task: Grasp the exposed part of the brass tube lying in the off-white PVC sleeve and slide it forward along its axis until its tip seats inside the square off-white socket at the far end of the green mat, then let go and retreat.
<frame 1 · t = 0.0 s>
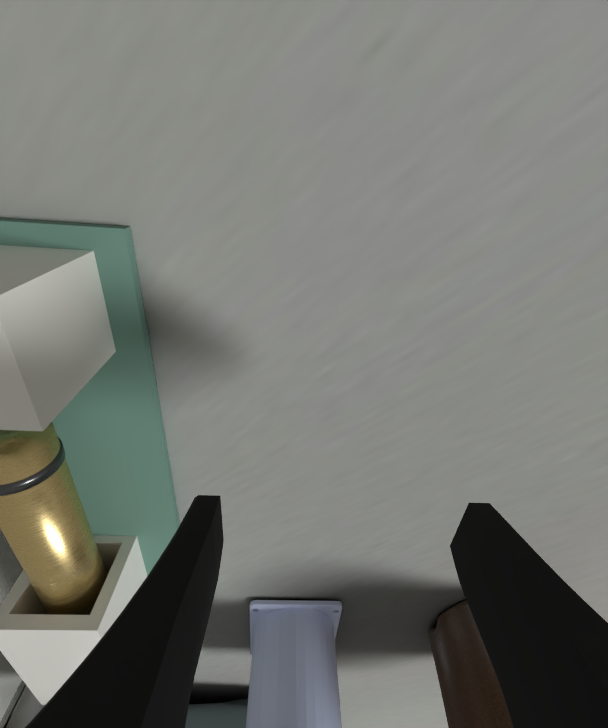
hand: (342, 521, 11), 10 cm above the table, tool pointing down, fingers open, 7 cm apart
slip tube: (66, 565, 23), point 3 cm above the table, slide at 0.0 cm
socket: (6, 299, 17), resting on mat
pencil case: (220, 714, 45), on the table
plant pot: (492, 620, 34), on the table
grey piece: (72, 656, 36), on the table
mat: (79, 478, 24), on the table
sleeve: (106, 575, 28), resting on mat
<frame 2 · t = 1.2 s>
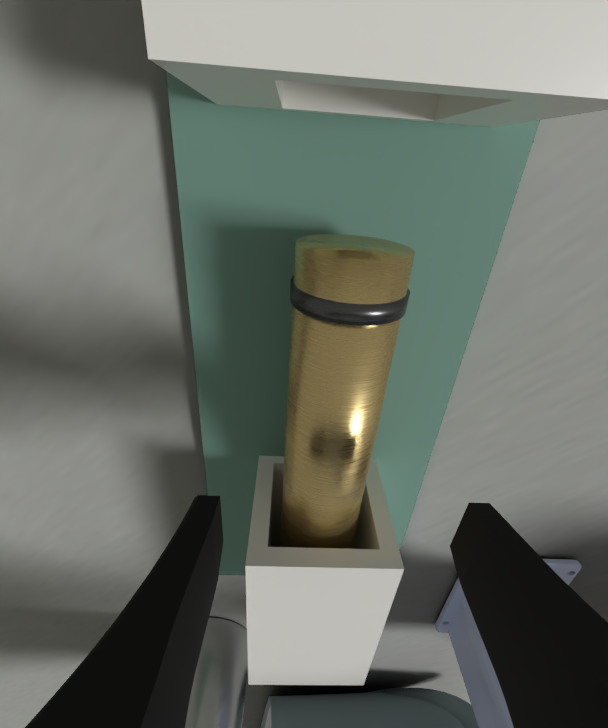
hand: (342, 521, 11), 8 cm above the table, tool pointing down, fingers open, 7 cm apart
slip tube: (322, 486, 16), point 3 cm above the table, slide at 0.0 cm
socket: (369, 11, 10), resting on mat
pencil case: (353, 707, 39), on the table
grey piece: (211, 633, 30), on the table
mat: (326, 370, 17), on the table
sleeve: (310, 518, 22), resting on mat
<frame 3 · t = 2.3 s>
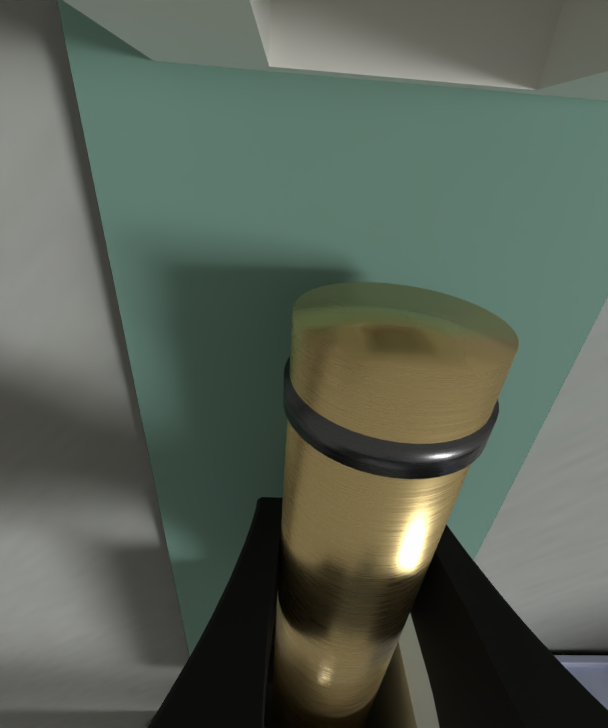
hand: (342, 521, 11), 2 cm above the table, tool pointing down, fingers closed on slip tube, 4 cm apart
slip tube: (333, 627, 11), point 3 cm above the table, slide at 0.0 cm, touching gripper
mat: (336, 455, 12), on the table
sleeve: (314, 623, 17), resting on mat
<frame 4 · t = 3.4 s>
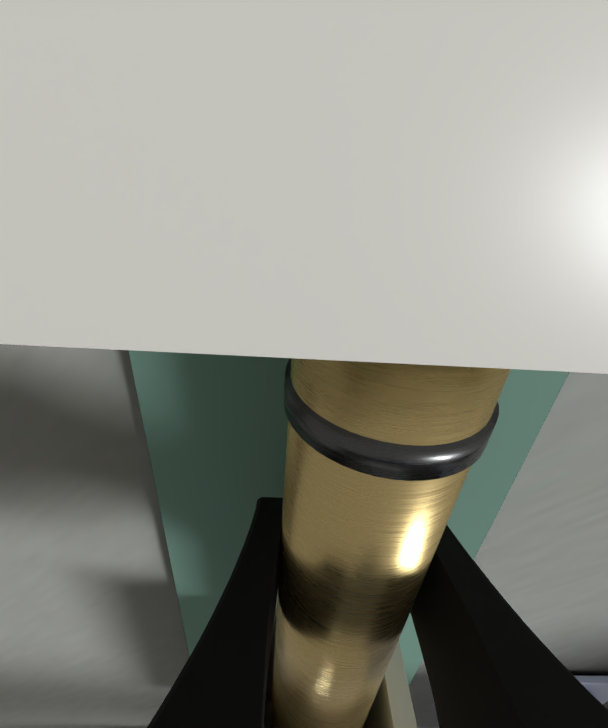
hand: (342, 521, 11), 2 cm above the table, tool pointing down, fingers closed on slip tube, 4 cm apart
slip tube: (333, 628, 11), point 3 cm above the table, slide at 2.6 cm, touching gripper
socket: (400, 88, 7), resting on mat
mat: (329, 505, 14), on the table
sleeve: (309, 649, 18), resting on mat
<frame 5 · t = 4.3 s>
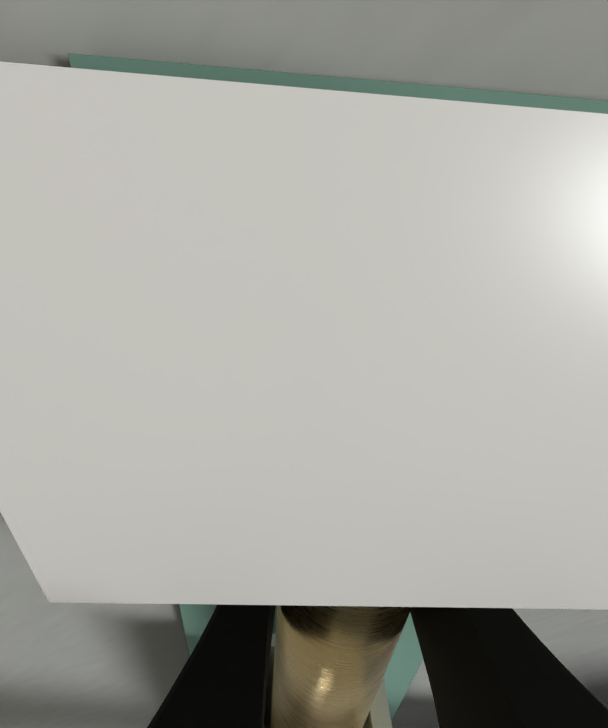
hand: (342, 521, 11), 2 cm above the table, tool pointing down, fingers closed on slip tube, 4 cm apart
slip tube: (333, 628, 11), point 3 cm above the table, slide at 5.9 cm, touching gripper
socket: (370, 269, 8), resting on mat
mat: (320, 559, 15), on the table
sleeve: (305, 678, 20), resting on mat
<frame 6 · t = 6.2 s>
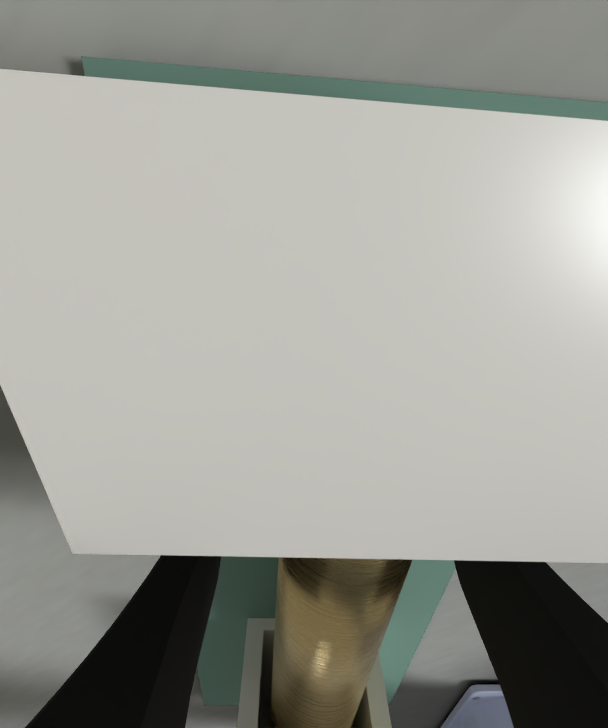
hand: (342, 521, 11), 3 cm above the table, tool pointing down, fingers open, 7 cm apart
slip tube: (330, 606, 12), point 3 cm above the table, slide at 5.9 cm
socket: (364, 260, 9), resting on mat
mat: (319, 545, 16), on the table
sleeve: (304, 663, 20), resting on mat
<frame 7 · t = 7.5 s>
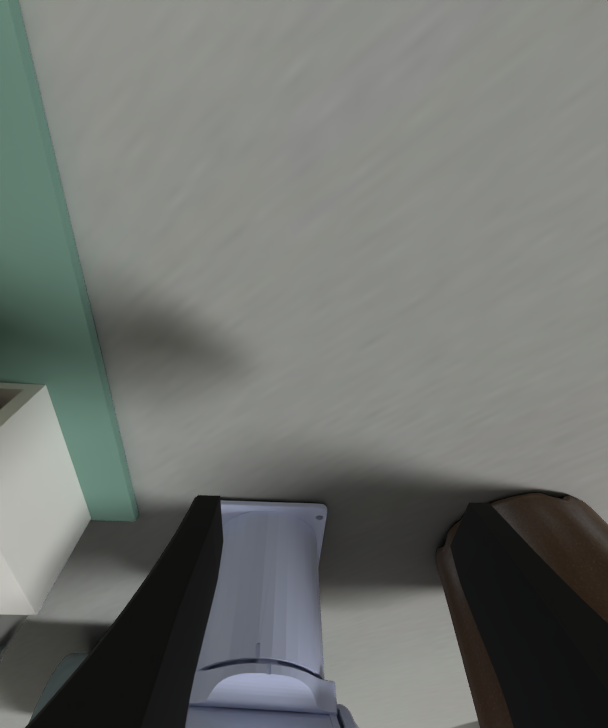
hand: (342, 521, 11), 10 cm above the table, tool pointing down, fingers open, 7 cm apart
pencil case: (187, 670, 38), on the table
plant pot: (514, 539, 28), on the table
sleeve: (15, 452, 21), resting on mat
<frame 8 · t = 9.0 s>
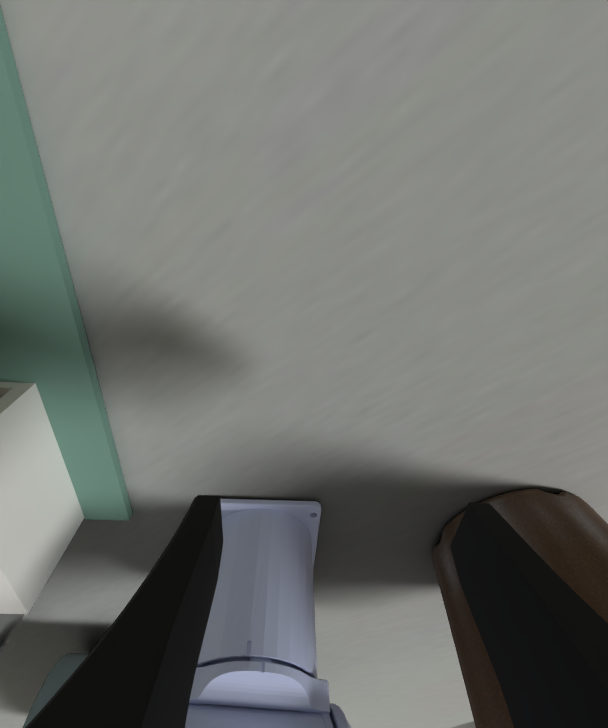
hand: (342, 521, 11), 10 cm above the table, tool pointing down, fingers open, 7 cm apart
pencil case: (185, 670, 38), on the table
plant pot: (511, 536, 28), on the table
sleeve: (6, 451, 21), resting on mat
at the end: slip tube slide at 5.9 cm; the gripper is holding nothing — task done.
